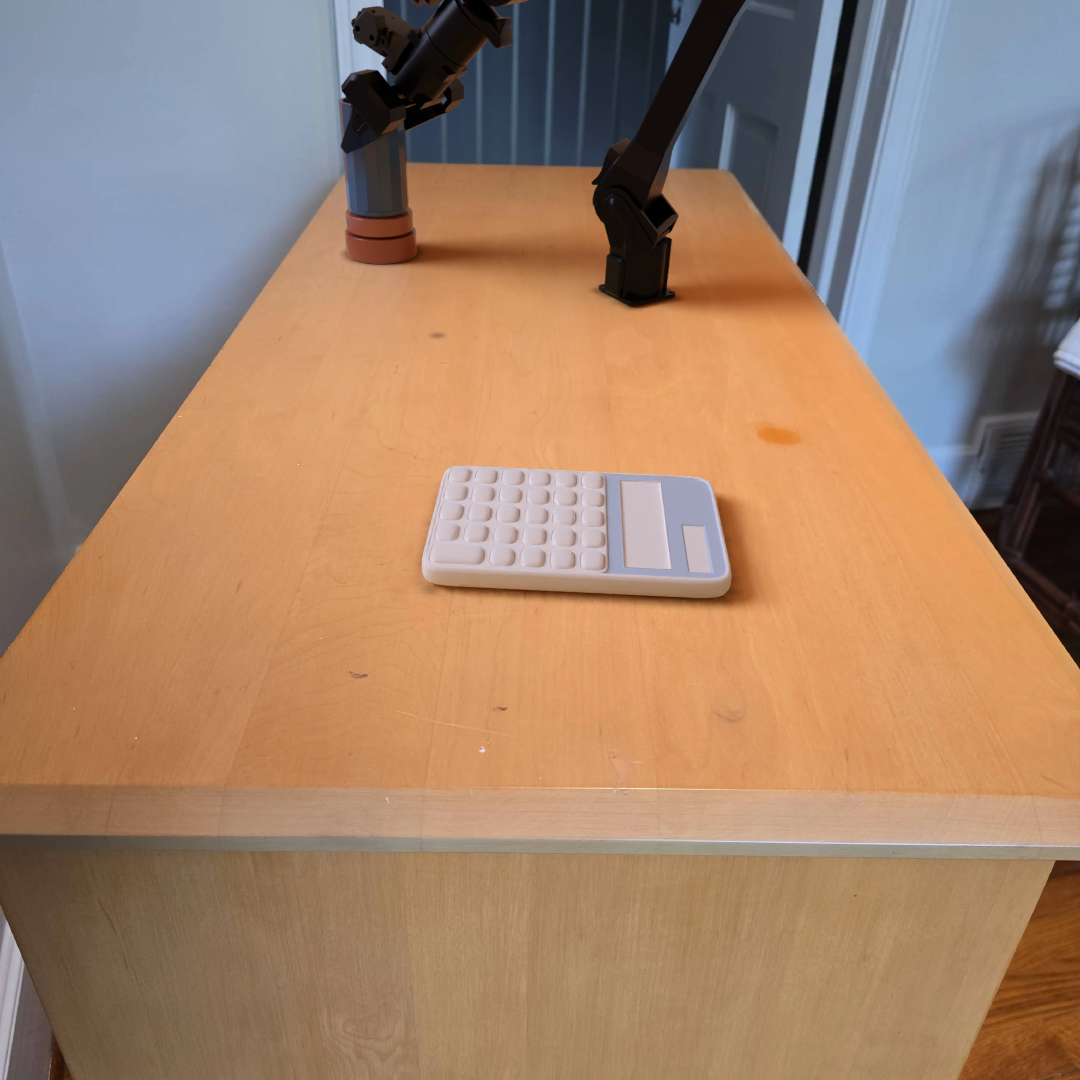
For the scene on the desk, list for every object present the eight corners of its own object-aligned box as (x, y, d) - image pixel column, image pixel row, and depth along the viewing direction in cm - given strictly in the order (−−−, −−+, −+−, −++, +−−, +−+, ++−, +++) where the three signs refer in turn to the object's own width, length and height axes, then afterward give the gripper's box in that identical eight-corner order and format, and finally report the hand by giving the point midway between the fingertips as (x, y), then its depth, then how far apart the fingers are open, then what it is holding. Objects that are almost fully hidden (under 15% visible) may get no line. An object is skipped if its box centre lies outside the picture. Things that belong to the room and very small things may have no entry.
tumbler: (416, 213, 111) (411, 104, 105) (357, 219, 109) (348, 107, 102) (398, 198, 117) (393, 93, 110) (341, 203, 114) (332, 96, 107)
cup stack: (398, 239, 121) (395, 196, 118) (428, 257, 115) (427, 212, 112) (335, 248, 117) (331, 204, 114) (364, 268, 111) (360, 222, 108)
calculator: (445, 481, 71) (444, 459, 70) (709, 493, 70) (713, 471, 69) (418, 587, 60) (417, 563, 59) (732, 603, 59) (736, 578, 58)
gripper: (437, -26, 105) (360, 74, 115) (349, -17, 91) (269, 96, 100) (501, 57, 107) (420, 149, 117) (424, 79, 93) (339, 181, 102)
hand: (365, 142), depth 109 cm, fingers open, 9 cm apart
